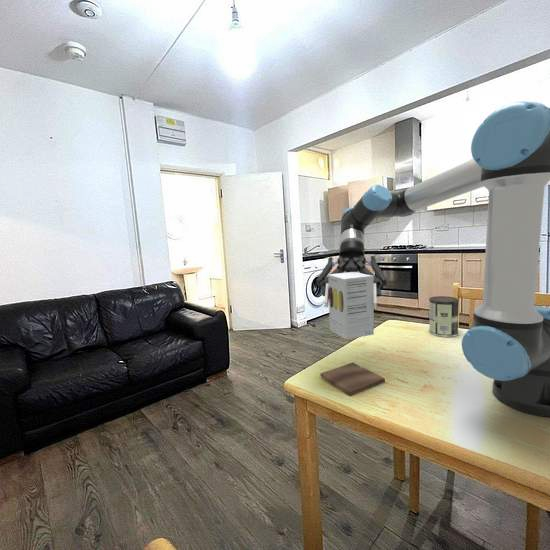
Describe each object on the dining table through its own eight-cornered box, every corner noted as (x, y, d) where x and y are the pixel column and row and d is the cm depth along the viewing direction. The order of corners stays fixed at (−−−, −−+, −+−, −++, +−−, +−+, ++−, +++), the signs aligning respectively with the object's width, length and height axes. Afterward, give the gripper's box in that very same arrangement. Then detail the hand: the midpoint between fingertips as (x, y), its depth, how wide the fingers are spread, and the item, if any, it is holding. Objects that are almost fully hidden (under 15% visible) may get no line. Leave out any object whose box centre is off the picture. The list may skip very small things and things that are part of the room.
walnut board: (385, 382, 85) (384, 378, 85) (350, 396, 79) (350, 391, 79) (353, 365, 97) (352, 362, 97) (320, 377, 91) (320, 373, 90)
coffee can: (449, 328, 126) (449, 295, 124) (464, 336, 116) (464, 300, 114) (424, 329, 126) (424, 296, 124) (437, 338, 116) (437, 302, 114)
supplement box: (328, 329, 89) (326, 274, 87) (355, 325, 92) (354, 271, 90) (346, 340, 80) (344, 278, 78) (375, 334, 83) (374, 274, 81)
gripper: (392, 253, 94) (397, 313, 82) (315, 255, 102) (308, 311, 89) (394, 236, 88) (398, 298, 76) (311, 240, 96) (304, 297, 84)
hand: (350, 305), depth 83 cm, fingers closed on supplement box, 12 cm apart
